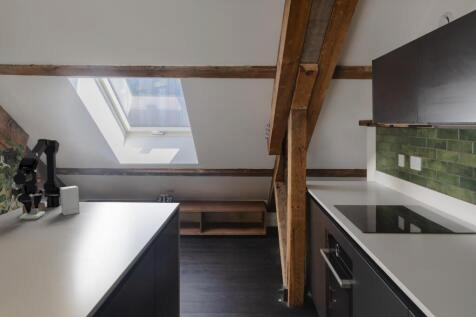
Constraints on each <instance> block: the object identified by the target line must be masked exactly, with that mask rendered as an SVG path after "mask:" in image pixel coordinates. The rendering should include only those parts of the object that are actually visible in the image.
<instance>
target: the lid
mask: <svg viewBox="0 0 476 317" xmlns="http://www.w3.org/2000/svg"><path fill="white" fill-rule="evenodd" d="M45 212H46V210H45V211H42V212H39V208H38V209H31V212H30V213H27V211H26V213H25V214H23V213H22V215H20V216H19V219H21V218H24V219H37V218H39V217H40V216H42V215H43V214H45Z"/></svg>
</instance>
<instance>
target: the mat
mask: <svg viewBox="0 0 476 317" xmlns="http://www.w3.org/2000/svg"><path fill="white" fill-rule="evenodd" d="M53 212H54V211H53V210H51V211H47V210H45V214H43V215H42V216H40V217H39V218H37V219H24V218H19V219H18V221H34V220H36V221H37V220H38V221H39V220H43V219H44V218H45V217H47V216H48V215H50V214H51V213H53Z"/></svg>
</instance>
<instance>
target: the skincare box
mask: <svg viewBox="0 0 476 317" xmlns="http://www.w3.org/2000/svg"><path fill="white" fill-rule="evenodd" d="M79 194H80V193H79V187H78V186H77V185H70V186H64V187H63V186H62V187H60V196H61V206H60V207H61V213H62V214H63V215H64V216H65V215H67V216H68V215H74V214H80V213H81V210H80V197H79V196H80V195H79Z"/></svg>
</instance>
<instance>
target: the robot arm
mask: <svg viewBox="0 0 476 317" xmlns="http://www.w3.org/2000/svg"><path fill="white" fill-rule="evenodd" d="M59 150H60V142H59V141H57V140H56V139H48V138H39V139H37V142H36V144H35V145H34V146H33V148H32V149H31V151H30V152H29V153H28V154H25V155H24V156H23V157H22V158H21V159H20V161H19V163H18V167H17V170H16V171H17V173H16V174H15V175H14V176H13V182H14V183H15V184H16V185H19V186H21V187H12V188H11V191H10V194H11V195H13V197H16V196H17V197H16V201H17V202H19V203H20V204H23V205H22V206H25V209H26V211H27V213H30V212H31V209H32V206H33V203H34V206H35V209H37V208H38V206H39V204H40V202H41V201H42V199H43V197H44V198H46V208H60V207H61V196H60V188H61V184H60V182H59V181H58V179H57V159H56V158H57V157H56V156H57V154H58V153H59ZM43 153H44V154H45V156H46V157H45V160H46V161H45V163H46V181H45V183H43V185H42V186H43V188H41V187H40V188H39V185H40V181H39V182H38V172H39V169H38V168H39V166H40V163H41V161H40V159H41V156H42V155H43Z"/></svg>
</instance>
